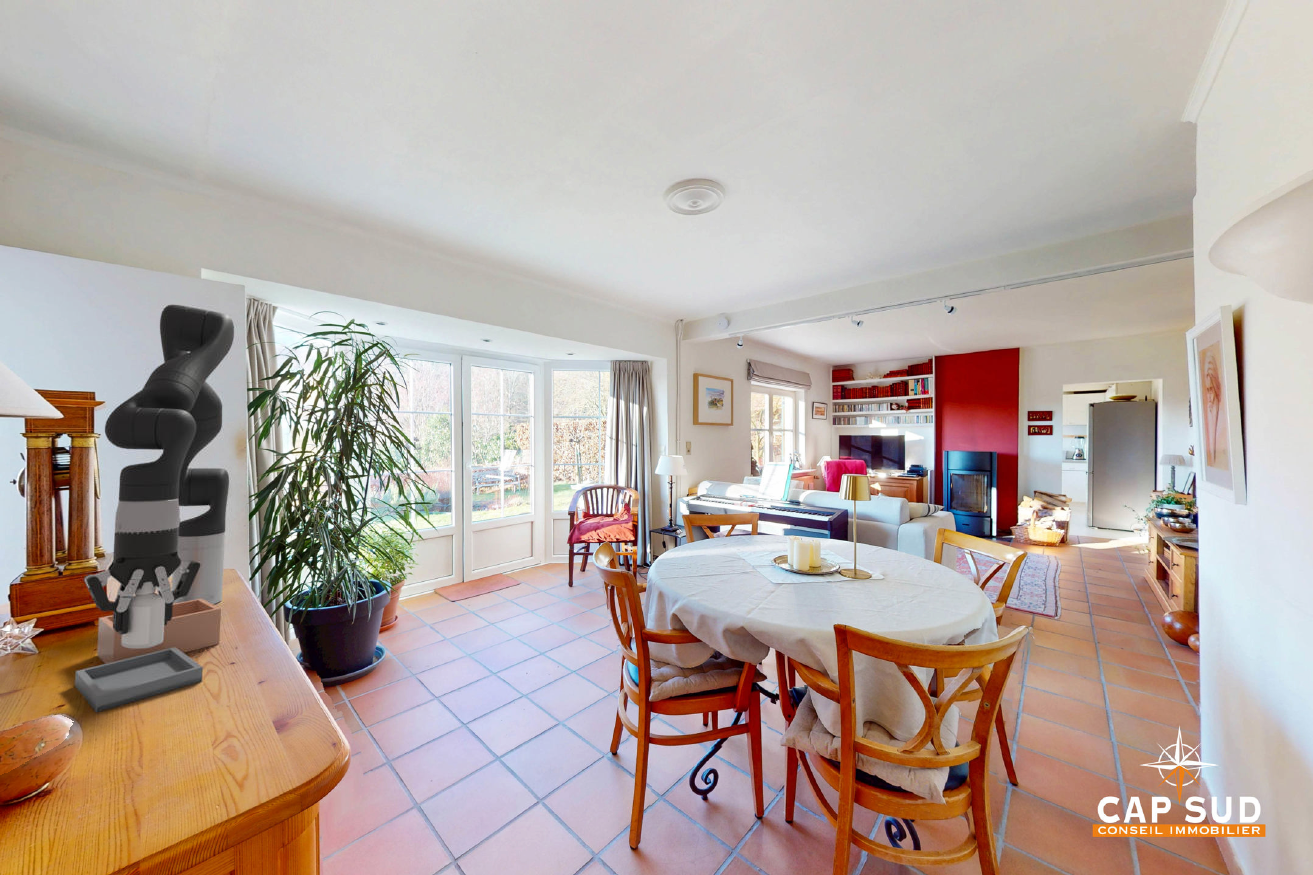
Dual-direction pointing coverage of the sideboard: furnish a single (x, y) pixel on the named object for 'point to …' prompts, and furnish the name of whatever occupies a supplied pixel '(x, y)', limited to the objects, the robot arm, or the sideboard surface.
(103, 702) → the charcoal tray
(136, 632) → the eye dropper bottle
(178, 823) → the sideboard surface
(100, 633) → the open clay trough
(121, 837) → the sideboard surface
